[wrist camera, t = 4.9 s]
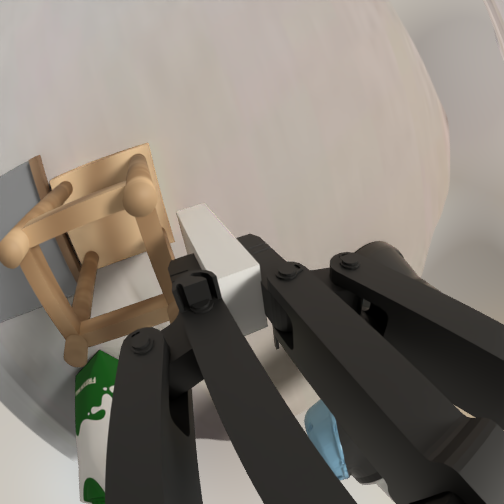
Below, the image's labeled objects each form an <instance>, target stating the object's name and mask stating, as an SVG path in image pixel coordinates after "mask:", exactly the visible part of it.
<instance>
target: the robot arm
mask: <svg viewBox="0 0 504 504" xmlns="http://www.w3.org/2000/svg"><path fill="white" fill-rule="evenodd" d="M176 213H177V217H178V221H179V225H180V228H181V232H182V236H183V239H184V243H185V247H186V250H187V254H188V255H186V256H183V257H180V258H177V259H174V260H171V261H170V263H169V266H168V272H169V275H170V279H171V282H172V293H173V296H174V299H175V301H176V304H177V306H178V309H179V313H178V315H177V317H176V319H175V320H174V321H173V322H172V323H171V324H170V325H169V326H167V327H166V328H164V329H163V330H161V331H159V330H158V329H155V328H153V327H144V328H141V329H137V330H135V331H134V332H132V333H130V334H129V335H128V336H127V337H126V339H125V340H124V342H123V344H122V346H121V351H120V356H119V361H118V366H117V372H116V378H115V384H114V390H113V397H112V404H111V411H110V420H109V429H108V439H107V452H106V470H105V504H203V501H202V495H201V487H200V479H199V471H198V463H197V452H196V442H195V430H194V416H193V401H192V389H191V388H192V387H194V386H195V385H196V384H198V383H199V382H201V381H202V380H203V379H204V380H205V383H206V385H207V388H208V390H209V393H210V395H211V397H212V400H213V402H214V404H215V407H216V409H217V411H218V414H219V416H220V418H221V420H222V423H223V425H224V427H225V429H226V431H227V434H228V436H229V438H230V440H231V442H232V444H233V446H234V448H235V450H236V452H237V454H238V456H239V458H240V460H241V462H242V464H243V466H244V468H245V470H246V472H247V474H248V476H249V478H250V479H251V481H252V483H253V485H254V487H255V489H256V490H257V492H258V494H259V496H260V497H261V499H262V501H263V503H264V504H357V503H356V501H355V500H354V499H353V498H352V496H351V495H350V494H349V492H348V491H347V490H346V489H345V487H344V486H343V484H342V483H341V482H340V480H344V479H348V478H349V477H350V475H352V476H353V477H354V478H355V479H356V480H357V481H358V482H359V483H360V484H363V485H370V484H377V485H378V486H379V487H380V488H381V489H382V490H383V491H384V492H385V493H386V494H387V495H388V496H389V497H390V498H391V499H392V500H393V501H394V502H395V503H396V504H504V431H503V430H504V325H503V324H501V323H499V322H498V321H496V320H494V319H492V318H490V317H488V316H486V315H484V314H482V313H481V312H479V311H477V310H475V309H473V308H471V307H469V306H467V305H465V304H463V303H461V302H459V301H457V300H455V299H453V298H451V297H449V296H447V295H445V294H443V293H442V292H440V291H439V290H438V289H436V288H435V287H433V286H432V285H430V284H429V283H427V282H426V281H424V280H423V279H421V278H420V277H419V276H418V275H417V274H416V273H415V271H414V270H413V269H412V268H411V266H410V265H409V264H408V263H407V262H406V261H405V259H404V258H403V256H402V254H401V253H400V252H399V250H397V249H396V248H395V247H393V246H391V245H390V244H388V243H386V242H383V241H376V242H372V243H370V244H368V245H366V246H364V247H362V248H361V249H360V250H358V251H357V252H356V253H350V252H344V253H339V254H337V255H335V256H333V257H332V258H331V260H330V268H324V269H318V270H308V269H307V268H306V267H305V266H303V265H302V264H300V263H296V262H286V261H285V260H284V259H283V258H282V257H281V256H280V255H279V254H277V253H276V252H275V251H274V250H273V249H272V248H270V246H269V245H268V244H266V242H264V241H263V240H262V239H261V238H260V237H258V236H255V235H252V234H248V235H245V236H242V237H238V238H235V237H234V235H233V234H232V233H231V232H230V231H229V230H228V229H227V228H226V227H225V225H224V224H223V223H222V222H221V221H220V220H219V219H218V218H217V216H216V215H215V214H214V213H213V212H212V211H211V210H210V209H209V208H208V206H207V205H206V204H205V203H202V204H199V205H196V206H192V207H189V208H186V209H182V210H179V211H176ZM266 316H267V317H268V319H269V320H270V321H271V323H272V325H273V334H274V343H275V347H276V350H277V349H279V342H280V344H281V345H282V347H283V348H284V349H285V351H286V352H287V354H288V355H289V356H290V358H291V359H292V361H293V362H294V363H295V365H296V366H297V367H298V369H299V370H300V372H301V373H302V374H303V376H304V377H305V378H306V380H307V381H308V382H309V384H310V385H311V386H312V388H313V389H314V390H315V392H316V393H317V395H318V396H319V397H320V400H319V401H318V402H317V403H315V404H314V405H313V406H312V407H310V408H309V409H308V411H307V413H306V415H305V420H304V422H305V428H306V432H307V434H306V433H305V431H304V430H303V428H302V427H301V425H300V424H299V422H298V421H297V419H296V418H295V416H294V415H293V413H292V412H291V410H290V409H289V407H288V406H287V404H286V403H285V401H284V400H283V398H282V397H281V395H280V393H279V392H278V390H277V389H276V387H275V386H274V384H273V382H272V381H271V379H270V378H269V376H268V374H267V373H266V371H265V370H264V368H263V366H262V365H261V363H260V362H259V360H258V358H257V357H256V355H255V353H254V352H253V350H252V348H251V347H250V345H249V343H248V342H247V340H246V338H245V337H244V336H246V335H248V334H251V333H253V332H256V331H258V330H261V329H263V328H265V327H268V324H267V317H266ZM453 404H454V405H455V406H457V407H459V408H461V409H462V410H464V411H466V412H467V413H469V414H471V415H472V416H474V417H476V418H469V417H466V416H465V415H463V414H462V413H461V412H460V411H459V410H458V409H457V408H456V407H455V406H454V405H453ZM307 435H308V436H307Z"/></svg>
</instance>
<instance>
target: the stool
mask: <svg viewBox="0 0 504 504" xmlns="http://www.w3.org/2000/svg"><path fill="white" fill-rule="evenodd" d="M49 182H50V185H51V188H52V191H51V192H50V193H48V194H47V195H46V196H45V197H44V198H43V199H42V200H41V201H40V202H39V203H37V204H36V205H35V206H34V207H33V208H32V209H31V210H30V211H29V212H28V213H27V214H26V215H25V216H24V217H23V218H22V219H21V220H20V221H19V222H18V223H17V224H16V225H15V226H14V227H13V228H12V229H11V231H10V232H9V233H8V234H7V235H6V236H5V237H4V238H3V239H2V240H1V242H0V262H1V263H2V264H3V265H4V266H5V267H7V268H10V269H14V268H16V267H18V266H19V265H20V267H21V269H22V271H23V272H24V274H25V276H26V278H27V280H28V282H29V284H30V285H31V287H32V289H33V291H34V292H35V294H36V296H37V297H38V299H39V301H40V302H41V304H42V306H43V307H44V309H45V310H46V312H47V314H48V315H49V317H50V318H51V320H52V321H53V323H54V324H55V326H56V327H57V328H58V330H59V331H60V333H61V334H62V335H63V337H64V338H65V340H66V342H65V349H64V360H65V361H66V362H67V363H68V364H69V365H71V366H73V367H83V366H85V365H86V364H87V354H88V347H91V346H94V345H97V344H101V343H104V342H107V341H110V340H113V339H116V338H119V337H122V336H125V335H128V334H130V333H132V332H134V331H135V330H137V329H141V328H144V327H152V326H155V325H158V324H161V323H164V322H167V321H170V324H171V323H172V322H173V321H174V320H175V319H176V317H177V315H178V313H179V309H178V306H177V304H176V301H175V299H174V296H173V293H172V282H171V279H170V275H169V272H168V266H169V263H170V261H171V260H174V259H175V257H174V255H173V252H172V249H171V246H170V243H173V242H175V241H174V237H173V234H172V231H171V227H170V224H169V220H168V217H167V213H166V210H165V206H164V203H163V199H162V195H161V192H160V188H159V184H158V180H157V176H156V172H155V168H154V164H153V160H152V156H151V151H150V147H149V143H145V144H142V145H138V146H135V147H132V148H129V149H126V150H123V151H120V152H117V153H114V154H111V155H109V156H106V157H103V158H100V159H98V160H95V161H92V162H90V163H87V164H85V165H82V166H80V167H77V168H75V169H73V170H70V171H68V172H66V173H63V174H61V175H59V176H57V177H55V178H53V179H52V180H50V181H49ZM66 232H68V235H69V237H70V239H71V242H72V244H73V246H74V249H75V251H76V253H77V255H78V258H79V260H80V262H81V264H82V267H81V271H80V275H79V278H78V282H77V286H76V291H75V295H74V299H73V304H72V307H71V305H70V304H69V302H68V300H67V299H66V297H65V295H64V293H63V292H62V290H61V288H60V286H59V284H58V282H57V281H56V279H55V277H54V275H53V273H52V271H51V269H50V267H49V265H48V263H47V261H46V259H45V257H44V255H43V253H42V251H41V248H40V246H39V244H40V243H43V242H45V241H47V240H49V239H52V238H54V237H56V236H58V235H61V234H63V233H66ZM146 251H147V253H148V256H149V259H150V261H151V264H152V267H153V269H154V272H155V274H156V277H157V279H158V282H159V284H160V287H161V289H162V292H163V294H161V295H158V296H155V297H152V298H149V299H146V300H144V301H141V302H138V303H135V304H132V305H129V306H126V307H123V308H120V309H117V310H115V311H112V312H109V313H106V314H103V315H100V316H97V317H94V318H91V319H90V316H91V307H92V299H93V292H94V285H95V279H96V273H97V269H99V268H101V267H104V266H107V265H110V264H112V263H115V262H118V261H121V260H124V259H126V258H129V257H132V256H135V255H138V254H140V253H143V252H146Z"/></svg>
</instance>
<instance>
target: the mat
mask: <svg viewBox="0 0 504 504" xmlns="http://www.w3.org/2000/svg"><path fill="white" fill-rule="evenodd" d="M40 201H41V200H40V197H39V194H38V191H37V188H36V185H35V181H34V178H33V175H32V171H31V168H30V164H29V161H27V162H25V163H23V164H21V165H20V166H18V167H16V168H14V169H13V170H11V171H9V172H7V173H6V174H4V175H2V176H1V177H0V242H1V240H2V239H3V238H4V237H5V236H6V235H7V234H8V233H9V232H10V231H11V229H12V228H13V227H14V226H15V225H16V224H17V223H18V222H19V221H20V220H21V219H22V218H23V217H24V216H25V215H26V214H27V213H28V212H29V211H30V210H31V209H32V208H33V207H34V206H35V205H36V204H37V203H39V202H40ZM39 246H40V248H41V251H42V253H43V255H44V257H45V259H46V261H47V263H48V265H49V267H50V269H51V271H52V273H53V275H54V277H55V279H56V281H57V282H58V284H59V286H60V288H61V290H62V292H63V293H64V295H65V297H66V298H67V297H70V296H72V295H75V291H76V286H77V283H76V281H75V279H74V277H73V275H72V273H71V271H70V269H69V267H68V265H67V263H66V261H65V259H64V256H63V254H62V252H61V250H60V248H59V245H58V243H57V241H56V239H55V237H54V238H52V239H49V240H47V241H45V242H43V243H40V244H39ZM40 307H43V306H42V304H41V302H40V301H39V299H38V297H37V296H36V294H35V292H34V291H33V289H32V287H31V285H30V284H29V282H28V280H27V278H26V276H25V274H24V272H23V271H22V269H21V267H20V265H19V266H18V267H16V268H14V269H10V268H7V267H5V266H4V265H3V264H2V263H1V262H0V323H1V322H4V321H6V320H9V319H11V318H14V317H16V316H19V315H22V314H24V313H27V312H30V311H32V310H35V309H37V308H40Z"/></svg>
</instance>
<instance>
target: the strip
mask: <svg viewBox="0 0 504 504" xmlns="http://www.w3.org/2000/svg"><path fill="white" fill-rule="evenodd" d="M29 164H30V168H31V171H32V175H33V178H34V181H35V185H36V188H37V191H38V194H39V197H40V200H42V199H43V198H44V197H45V196H46V195H47V194H48V193H50V192H51V190H50V187H49V184H48V181H47V178H46V174H45V171H44V167H43V164H42V160H41V156H40V155H38V156H36V157H34V158H32V159H30V160H29ZM55 239H56V241H57V243H58V245H59V248H60V250H61V252H62V254H63V256H64V259H65V261H66V263H67V265H68V267H69V269H70V271H71V273H72V275H73V277H74V279H75V281H76V283H77V282H78V278H79V275H80V271H81V265H80V263H79V261H78V259H77V257H76V254H75V252H74V250H73V248H72V245H71V243H70V241H69V238H68V236H67V234H66V233H63V234H61V235H58V236H56V237H55Z"/></svg>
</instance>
